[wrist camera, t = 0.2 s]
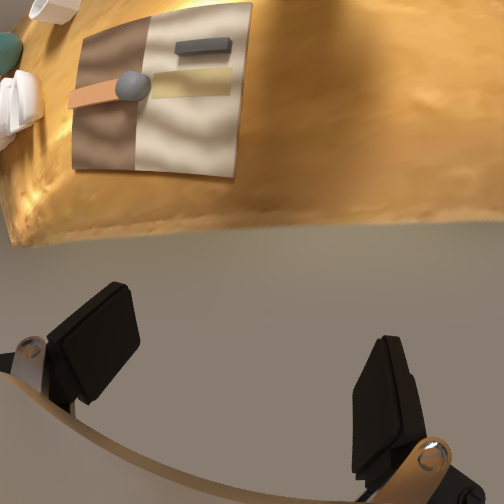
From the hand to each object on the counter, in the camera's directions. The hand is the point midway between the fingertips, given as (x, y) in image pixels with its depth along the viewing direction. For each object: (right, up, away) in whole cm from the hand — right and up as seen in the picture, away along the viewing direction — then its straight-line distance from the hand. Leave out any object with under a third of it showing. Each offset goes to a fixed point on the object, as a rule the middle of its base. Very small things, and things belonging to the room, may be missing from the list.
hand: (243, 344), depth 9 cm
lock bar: (-24, +30, +26) cm, 47 cm away
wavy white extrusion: (-59, +38, +34) cm, 78 cm away
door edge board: (-17, +30, +26) cm, 43 cm away
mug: (-41, +60, +20) cm, 76 cm away
